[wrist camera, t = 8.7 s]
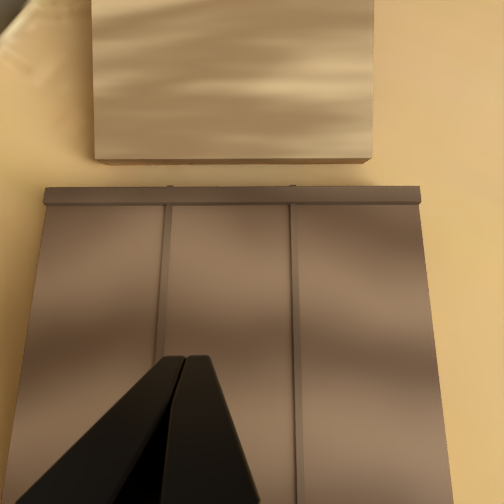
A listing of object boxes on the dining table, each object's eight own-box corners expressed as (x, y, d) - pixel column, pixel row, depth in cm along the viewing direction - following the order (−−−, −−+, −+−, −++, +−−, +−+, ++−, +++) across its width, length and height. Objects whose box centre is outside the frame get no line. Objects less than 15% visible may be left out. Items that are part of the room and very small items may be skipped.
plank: (372, 157, 22) (375, -178, 22) (94, 159, 23) (87, -172, 22) (363, 163, 24) (366, -143, 24) (108, 164, 25) (102, -139, 24)
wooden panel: (441, 552, 19) (466, 574, 17) (17, 547, 19) (-15, 568, 17) (403, 202, 24) (419, 182, 21) (66, 203, 24) (46, 183, 22)
